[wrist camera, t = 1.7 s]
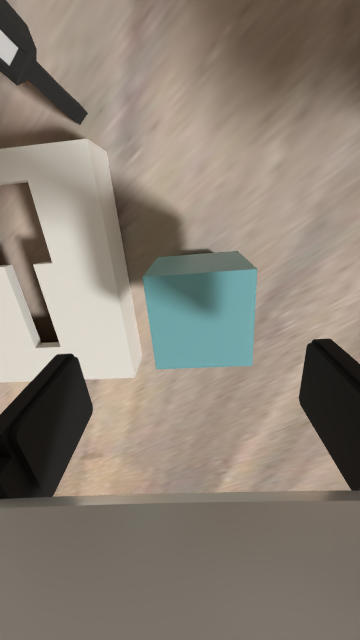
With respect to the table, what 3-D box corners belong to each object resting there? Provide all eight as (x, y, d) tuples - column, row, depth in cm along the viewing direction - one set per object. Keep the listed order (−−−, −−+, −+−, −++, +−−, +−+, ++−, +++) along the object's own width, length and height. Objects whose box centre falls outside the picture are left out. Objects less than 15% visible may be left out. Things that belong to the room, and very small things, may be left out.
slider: (228, 242, 22) (257, 269, 12) (228, 303, 25) (252, 365, 15) (164, 247, 23) (142, 276, 13) (171, 306, 25) (156, 369, 15)
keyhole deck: (106, 151, 20) (86, 138, 16) (142, 355, 28) (134, 377, 24) (-70, 171, 21) (-125, 163, 17) (14, 361, 29) (-12, 382, 26)
